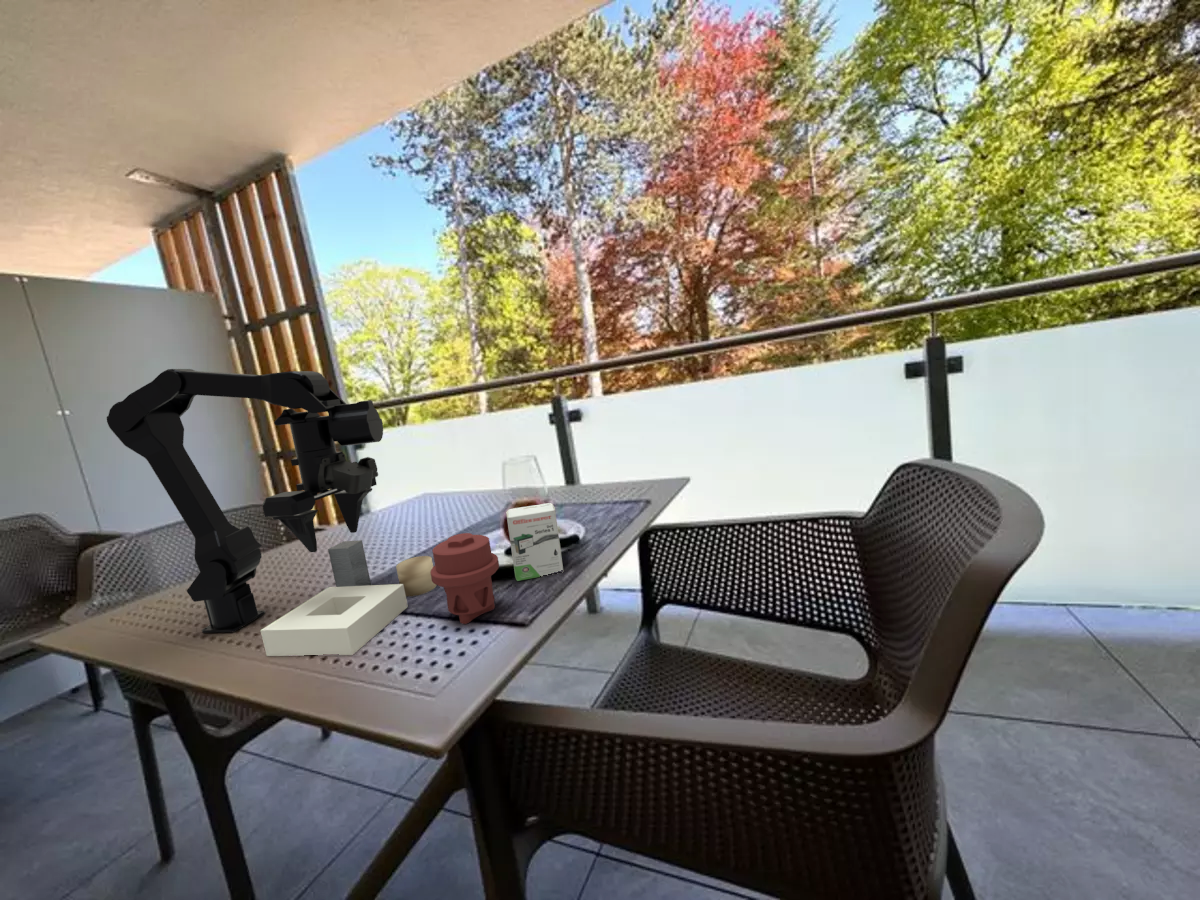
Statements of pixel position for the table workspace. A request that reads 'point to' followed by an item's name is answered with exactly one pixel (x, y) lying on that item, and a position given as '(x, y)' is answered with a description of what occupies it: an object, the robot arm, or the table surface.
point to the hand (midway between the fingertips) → (334, 541)
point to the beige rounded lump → (416, 575)
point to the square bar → (349, 564)
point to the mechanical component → (465, 574)
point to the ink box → (534, 541)
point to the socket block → (335, 621)
